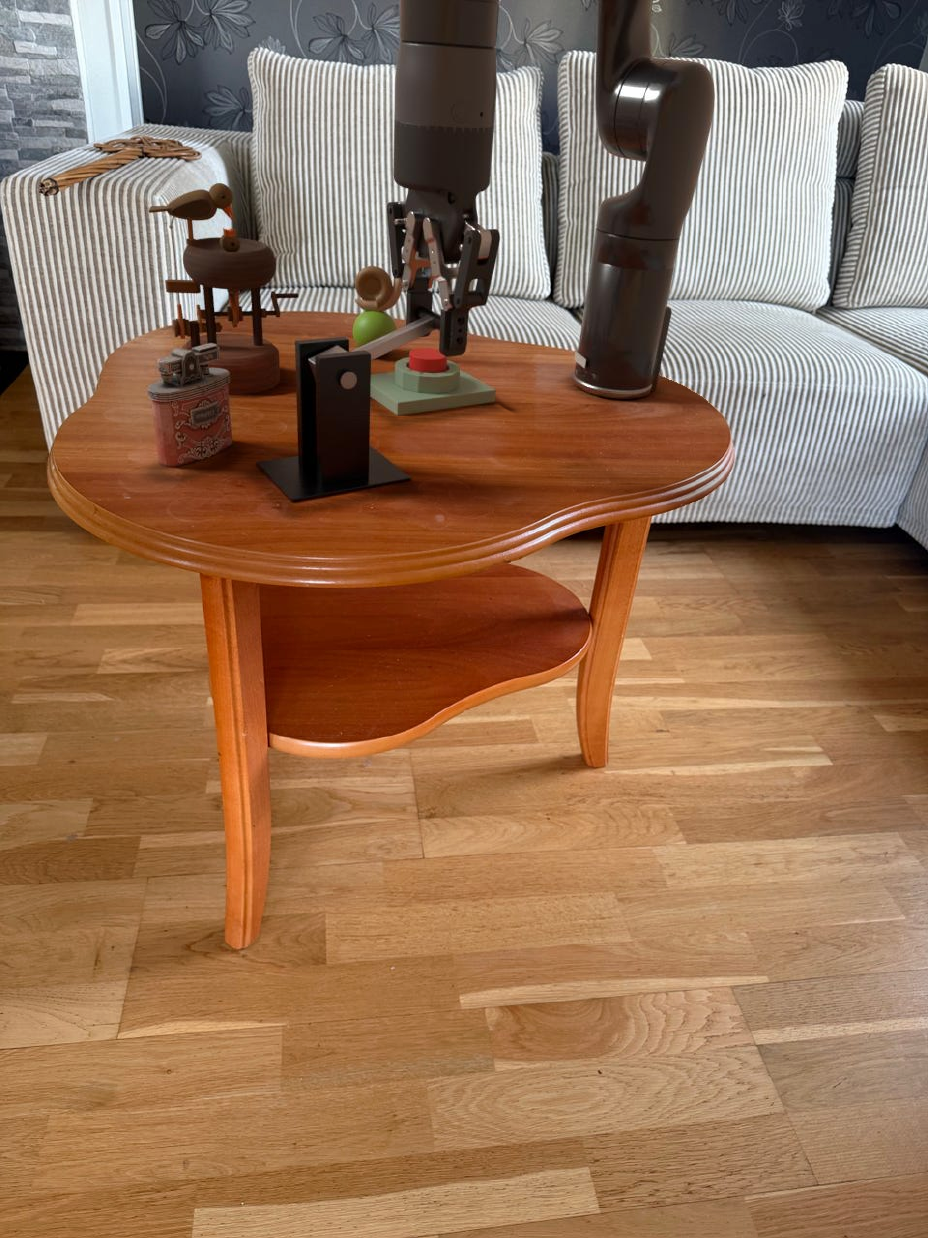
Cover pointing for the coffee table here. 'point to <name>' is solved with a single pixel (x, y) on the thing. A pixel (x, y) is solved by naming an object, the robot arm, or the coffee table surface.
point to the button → (427, 360)
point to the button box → (428, 389)
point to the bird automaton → (233, 270)
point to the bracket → (332, 427)
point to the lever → (394, 336)
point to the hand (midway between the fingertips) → (434, 344)
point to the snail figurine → (375, 304)
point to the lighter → (191, 407)
